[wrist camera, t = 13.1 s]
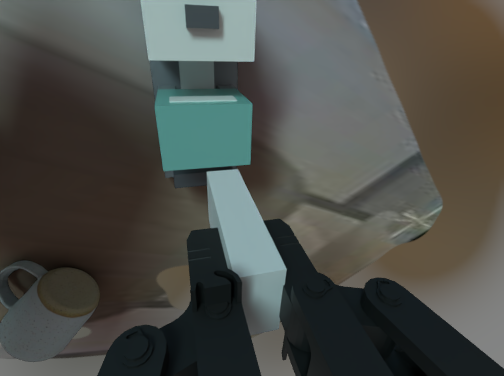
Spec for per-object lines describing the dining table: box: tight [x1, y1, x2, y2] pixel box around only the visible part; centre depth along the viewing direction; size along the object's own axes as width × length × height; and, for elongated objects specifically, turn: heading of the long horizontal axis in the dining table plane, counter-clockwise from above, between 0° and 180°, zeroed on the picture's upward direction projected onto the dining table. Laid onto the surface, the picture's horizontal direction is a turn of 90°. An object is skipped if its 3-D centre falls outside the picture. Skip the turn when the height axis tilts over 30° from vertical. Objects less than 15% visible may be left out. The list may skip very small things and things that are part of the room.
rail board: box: [141, 0, 256, 188], centre depth 24 cm, size 19×8×10 cm, turn 179°
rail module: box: [155, 85, 252, 171], centre depth 25 cm, size 5×7×8 cm
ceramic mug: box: [0, 260, 100, 362], centre depth 32 cm, size 11×8×8 cm
